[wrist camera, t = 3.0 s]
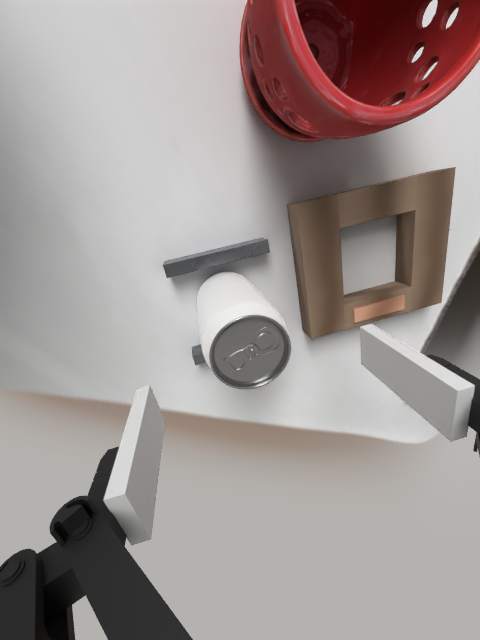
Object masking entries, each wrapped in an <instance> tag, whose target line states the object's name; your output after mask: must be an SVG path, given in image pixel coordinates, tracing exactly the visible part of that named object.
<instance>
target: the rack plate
mask: <svg viewBox="0 0 480 640" xmlns="http://www.w3.org/2000/svg"><path fill="white" fill-rule="evenodd" d="M454 177H455V167H454V168H447V169H441V170H435V171H430V172H426V173H422V174H418V175H413V176H409V177H405V178H400V179H396V180H392V181H387V182H383V183H379V184H375V185H370V186H366V187H362V188H357V189H353V190H349V191H345V192H340V193H336V194H332V195H327V196H323V197H319V198H314V199H310V200H306V201H302V202H297V203H293V204H289V205H287V208H288V216H289V224H290V232H291V240H292V248H293V256H294V264H295V272H296V280H297V288H298V296H299V304H300V312H301V320H302V328H303V331H304V332H305V333H306V334H307V335H308V336H309V337H310V338H311V339H314V338H318V337H321V336H325V335H328V334H332V333H335V332H339V331H342V330H346V329H350V328H353V327H357V326H360V325H364V324H367V323H371V322H374V321H378V320H381V319H385V318H389V317H392V316H396V315H399V314H403V313H406V312H410V311H413V310H417V309H420V308H424V307H428V306H431V305H435V304H438V303H441V301H442V292H443V282H444V272H445V263H446V253H447V244H448V234H449V225H450V215H451V205H452V196H453V186H454ZM393 215H397V241H396V276H395V282H391V283H387V284H384V285H380V286H376V287H373V288H369V289H365V290H361V291H358V292H354V293H350V294H347V295H343V277H342V258H341V240H340V228H344V227H348V226H352V225H356V224H360V223H364V222H368V221H372V220H377V219H381V218H385V217H389V216H393Z"/></svg>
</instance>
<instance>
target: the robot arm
mask: <svg viewBox="0 0 480 640" xmlns="http://www.w3.org/2000/svg"><path fill="white" fill-rule="evenodd" d="M360 343H361V364H362V365H363V366H364V367H365V368H367V369H368V370H369V371H370V372H371V373H372V374H373V375H375V376H376V377H377V378H378V379H379V380H380V381H382V382H383V383H384V384H385V385H386V386H387V387H388V388H390V389H391V390H392V391H393V392H394V393H395V394H397V395H398V396H399V397H400V398H401V399H402V400H403V401H405V402H406V403H407V404H408V405H409V406H410V407H411V408H413V409H414V410H415V411H416V412H417V413H418V414H420V415H421V416H422V417H423V418H424V419H425V420H426V421H428V422H429V423H430V424H431V425H432V426H433V427H435V428H436V429H437V430H438V431H439V432H440V433H441V434H443V435H444V436H445V437H446V438H447V439H448V440H450V441H454V440H458V439H461V438H464V437H466V436H467V432H468V426H470V427H471V428H472V429H474V430H475V431H476V432H477V433H476V439H475V445H474V451H475V452H477V448H478V451H479V455H480V379H478V378H476V377H474V376H473V375H471V374H469V373H467V372H465V371H464V370H461V369H460V368H458V367H457V366H455V365H452V364H451V363H450V362H448V361H446V360H444V359H443V358H440V357H437V356H433V355H427V356H425V355H423V354H421V353H420V352H418V351H416V350H415V349H413V348H411V347H410V346H408V345H406V344H405V343H403V342H401V341H400V340H398V339H396V338H395V337H393V336H391V335H390V334H388V333H386V332H385V331H383V330H381V329H380V328H378V327H376V326H375V325H373V324H368V325H364V326H361V327H360ZM164 424H165V420H164V418H163V415H162V413H161V410H160V408H159V406H158V403H157V401H156V398H155V396H154V394H153V391H152V389H151V386H150V385H148V386H145V387H141V388H138V389H137V390H136V393H135V396H134V400H133V403H132V406H131V410H130V414H129V417H128V420H127V423H126V426H125V430H124V433H123V436H122V440H121V443H120V446H119V447H116V448H113V449H109V450H108V451H107V452H106V453H105V455H104V456H103V457H102V459H101V460H100V463H99V466H98V468H97V473H96V474H95V476H94V479H93V480H94V481H93V482H92V485H91V488H90V490H89V493H88V496H79V497H76V498H74V499H72V500H70V501H69V502H67V503H66V504H64V505H63V506H62V508H61V509H60V510H58V512H57V513H56V515H55V516H54V518H53V519H52V522H51V524H50V533H51V535H52V536H53V537H54V538H55V539H56V541H57V542H56V543H54V544H52V545H51V546H49V547H48V548H46V549H44V550H43V551H41V552H39V553H38V554H37V553H36V552H35V551H34V550H31V549H25V550H21V551H19V552H18V553H16V554H14V555H13V556H11V557H10V558H9V559H8V560H6V561H5V562H4V563H3V564H2V566H1V567H0V640H75V634H74V623H73V613H72V604H74V603H75V602H76V601H78V600H79V599H81V598H82V597H84V596H85V595H86V596H87V599H88V601H89V602H90V604H91V606H92V608H93V610H94V612H95V614H96V616H97V618H98V620H99V622H100V624H101V626H102V628H103V630H104V632H105V634H106V636H107V638H108V640H193V639H192V638H191V637H190V635H189V634H188V633H187V631H186V630H185V628H184V627H183V626H182V624H181V623H180V622H179V620H178V619H177V618H176V616H175V615H174V613H173V612H172V611H171V610H170V608H169V607H168V605H167V604H166V603H165V601H164V600H163V598H162V597H161V596H160V594H159V593H158V592H157V590H156V589H155V588H154V586H153V585H152V583H151V582H150V581H149V579H148V578H147V577H146V575H145V574H144V572H143V571H142V570H141V568H140V567H139V566H138V565H137V563H136V562H135V560H134V559H133V558H132V556H131V555H130V553H129V552H128V551H127V549H126V548H125V547H124V546H125V541H126V537H127V539H128V540H129V542H130V543H131V545H134V544H137V543H140V542H143V541H146V540H150V539H151V534H152V526H153V517H154V508H155V500H156V492H157V483H158V475H159V466H160V458H161V449H162V440H163V432H164Z"/></svg>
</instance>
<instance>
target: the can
mask: <svg viewBox="0 0 480 640" xmlns="http://www.w3.org/2000/svg"><path fill="white" fill-rule="evenodd" d="M197 314H198V323H199V332H200V340H201V347H202V352H203V356H204V358H205V361H206V363H207V364H208V366H209V367H210V368H211V369H212V371H213V372H214V374H215V375H216V377H217V378H218V379H219V380H220V381H222V382H223V383H225V384H226V385H228V386H231V387H234V388H238V389H253V388H258V387H261V386H264V385H266V384H268V383H270V382H271V381H273V380H274V379H275V378H276V377H278V376H279V375H280V374H281V372H282V371H283V370H284V368H285V367H286V365H287V363H288V360H289V357H290V353H291V343H290V339H289V336H288V329H287V326H286V324H285V322H284V320H283V318H282V317H281V315H280V314H279V313H278V312H277V310H276V309H275V308H274V307H273V306H272V305H271V304H270V303H269V301H268V300H267V299H266V298H265V297H264V296H263V295H262V294H261V293H260V292H259V291H258V290H257V288H256V287H255V286H254V285H253V284H252V283H251V282H250V281H249V280H248V279H247V278H245V277H244V276H242V275H240V274H238V273H235V272H221V273H217V274H215V275H213V276H211V277H210V278H208V279H207V280H206V281H205V282H204V283H203V284H202V286H201V287H200V289H199V292H198V295H197Z"/></svg>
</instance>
